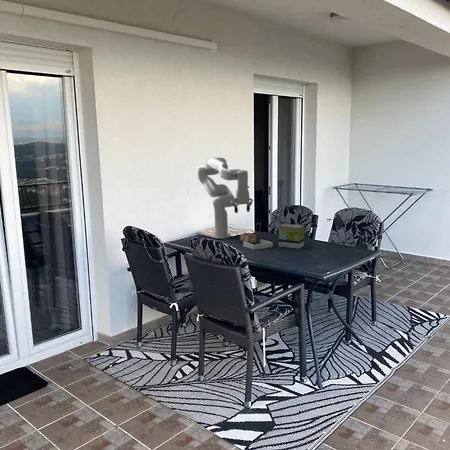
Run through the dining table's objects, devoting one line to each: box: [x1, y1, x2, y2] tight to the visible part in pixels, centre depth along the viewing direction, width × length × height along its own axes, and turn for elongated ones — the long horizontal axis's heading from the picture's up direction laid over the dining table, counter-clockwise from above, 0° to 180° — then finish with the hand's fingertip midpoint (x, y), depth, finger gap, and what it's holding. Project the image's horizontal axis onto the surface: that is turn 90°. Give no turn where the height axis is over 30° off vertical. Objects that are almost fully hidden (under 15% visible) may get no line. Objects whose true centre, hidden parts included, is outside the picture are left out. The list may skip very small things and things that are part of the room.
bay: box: [242, 239, 274, 251], centre depth 319 cm, size 14×15×3 cm
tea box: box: [278, 223, 305, 250], centre depth 316 cm, size 15×10×15 cm, turn 62°
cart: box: [239, 232, 258, 245], centre depth 329 cm, size 10×8×6 cm
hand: (242, 212), depth 331 cm, fingers open, 9 cm apart
